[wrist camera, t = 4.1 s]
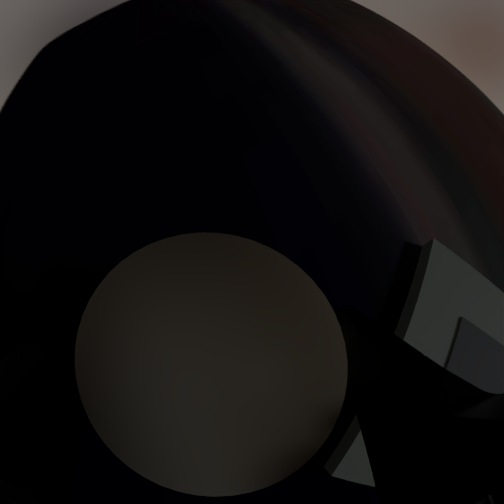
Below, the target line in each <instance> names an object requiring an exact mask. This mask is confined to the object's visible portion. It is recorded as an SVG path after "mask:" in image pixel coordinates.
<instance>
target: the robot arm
mask: <svg viewBox="0 0 504 504" xmlns="http://www.w3.org/2000/svg"><path fill="white" fill-rule="evenodd" d="M85 309H86V307H85V308H83V309H82V310H80V311H78V312H77V313H75V314H73V315H72V316H70V317H69V318H67V319H65V320H64V321H62V322H60V323H59V324H57V325H56V326H54V327H53V328H51V329H49V330H48V331H46V332H45V333H43V334H41V335H40V336H38V337H37V338H35V339H34V340H32V341H31V342H29V343H28V344H26V345H24V346H23V347H21V348H20V349H18V350H17V351H15V352H14V353H12V354H11V355H9V356H7V357H6V358H4V359H3V360H1V361H0V504H41V503H42V504H69V500H70V493H71V487H72V481H73V476H74V470H75V464H76V459H77V455H78V450H79V446H80V441H81V437H82V433H83V429H84V425H85V421H86V417H87V414H86V412H85V409H84V406H83V404H82V401H81V398H80V394H79V390H78V386H77V382H76V373H75V345H76V338H77V332H78V328H79V325H80V322H81V318H82V315H83V313H84V311H85ZM337 320H338V322H339V325H340V327H341V331H342V334H343V338H344V341H345V346H346V354H347V361H348V371H347V385H348V388H349V392H350V395H351V398H352V402H353V405H354V408H355V412H356V415H357V419H358V422H359V426H360V429H361V433H362V436H363V440H364V444H365V447H366V451H367V455H368V459H369V463H370V466H371V470H372V473H373V474H372V475H373V479H374V483H375V487H376V492H377V496H378V500H379V504H504V393H501V394H494V393H489V392H486V391H483V390H481V389H479V388H478V387H476V386H474V385H472V384H471V383H469V382H467V381H465V380H464V379H462V378H460V377H458V376H457V375H455V374H453V373H452V372H450V371H448V370H447V369H445V368H443V367H442V366H440V365H439V364H437V363H436V362H434V361H433V360H431V359H430V358H429V357H427V356H426V355H425V356H424V354H423V353H421V352H420V351H418V350H417V349H415V348H414V347H413V346H411V345H410V344H408V343H407V342H405V341H404V340H402V339H401V338H400V337H398V336H397V335H395V334H394V333H392V332H391V331H389V330H388V329H386V328H385V327H383V326H382V325H381V324H379V323H378V322H376V321H375V320H373V319H372V318H370V317H369V316H367V315H366V314H364V313H363V312H361V311H360V310H359V309H357V308H356V307H354V306H352V305H342V306H340V308H339V310H338V314H337Z"/></svg>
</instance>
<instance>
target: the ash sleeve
mask: <svg viewBox="0 0 504 504" xmlns="http://www.w3.org/2000/svg"><path fill="white" fill-rule="evenodd" d="M347 371H348V361H347V354H346V346H345V341H344V338H343V334H342V331H341V327H340V325H339V322H338V320H337V317H336V315H335V313H334V311H333V309H332V307H331V305H330V304H329V302H328V300H327V299H326V297H325V295H324V294H323V293H322V291H321V290H320V289H319V288H318V286H317V285H316V284H315V282H314V281H313V280H312V279H311V278H310V277H309V276H308V275H307V274H306V273H305V272H304V271H303V270H302V269H301V268H300V267H298V266H297V265H296V264H294V263H293V262H292V261H290V260H289V259H288V258H286V257H285V256H283V255H282V254H280V253H278V252H276V251H275V250H273V249H271V248H269V247H267V246H265V245H262V244H260V243H258V242H255V241H253V240H249V239H246V238H242V237H238V236H235V235H228V234H221V233H191V234H182V235H178V236H173V237H169V238H165V239H163V240H160V241H157V242H154V243H152V244H149V245H147V246H145V247H144V248H142V249H140V250H138V251H136V252H134V253H133V254H131V255H130V256H129V257H127V258H126V259H124V260H123V261H122V262H120V263H119V264H118V265H117V266H116V267H115V268H114V269H113V270H112V271H111V272H110V273H109V274H108V275H107V276H106V277H105V278H104V280H103V281H102V282H101V283H100V284H99V286H98V287H97V289H96V290H95V292H94V293H93V295H92V297H91V298H90V300H89V302H88V304H87V306H86V309H85V311H84V313H83V315H82V318H81V322H80V325H79V328H78V332H77V338H76V345H75V373H76V382H77V386H78V390H79V394H80V398H81V401H82V404H83V406H84V409H85V412H86V414H87V416H88V418H89V420H90V422H91V423H92V425H93V427H94V429H95V430H96V432H97V433H98V435H99V436H100V438H101V439H102V440H103V442H104V443H105V444H106V445H107V446H108V448H109V449H110V450H111V451H112V452H113V453H114V454H115V455H116V456H117V457H118V458H119V459H120V460H121V461H123V462H124V463H125V464H126V465H127V466H128V467H130V468H131V469H133V470H134V471H136V472H137V473H139V474H140V475H142V476H143V477H145V478H147V479H149V480H151V481H153V482H155V483H157V484H159V485H161V486H164V487H167V488H170V489H173V490H175V491H179V492H183V493H188V494H193V495H201V496H233V495H239V494H244V493H249V492H253V491H256V490H259V489H262V488H265V487H268V486H270V485H272V484H274V483H276V482H278V481H281V480H283V479H284V478H286V477H287V476H289V475H290V474H292V473H293V472H295V471H296V470H298V469H299V468H300V467H301V466H303V465H304V464H305V463H306V462H307V461H308V460H309V459H311V458H312V456H313V455H314V454H315V453H316V452H317V451H318V450H319V448H320V447H321V446H322V445H323V444H324V442H325V440H326V439H327V437H328V436H329V434H330V433H331V431H332V429H333V427H334V425H335V423H336V421H337V419H338V417H339V414H340V411H341V408H342V405H343V401H344V398H345V392H346V386H347Z"/></svg>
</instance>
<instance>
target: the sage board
mask: <svg viewBox="0 0 504 504" xmlns="http://www.w3.org/2000/svg"><path fill="white" fill-rule="evenodd" d="M394 334H395V335H397V336H398V337H400V338H401V339H402V340H404V341H405V342H407V343H408V344H410V345H411V346H413V347H414V348H415V349H417V350H418V351H420V352H421V353H423V354H424V356H425V355H426V356H427V357H429V358H430V359H431V360H433V361H434V362H436V363H437V364H439V365H440V366H442V367H443V368H445V369H447V370H448V371H450V372H452V373H453V374H455V375H457V376H458V377H460V378H462V379H464V380H465V381H467V382H469V383H471V384H472V385H474V386H476V387H478V388H479V389H481V390H483V391H486V392H489V393H494V394H501V393H504V293H503V292H502V291H501V290H499V289H498V288H497V287H496V286H495V285H494V284H492V283H491V282H490V281H489V280H488V279H486V278H485V277H484V276H483V275H481V274H480V273H479V272H478V271H477V270H475V269H474V268H473V267H472V266H470V265H469V264H468V263H466V262H465V261H464V260H462V259H461V258H460V257H459V256H457V255H456V254H455V253H453V252H452V251H450V250H449V249H448V248H446V247H445V246H444V245H442V244H441V243H439V242H438V241H437V240H435V239H432V240H431V241H429V242H428V243H426V244H425V245H423V246H422V249H421V253H420V256H419V260H418V264H417V267H416V271H415V274H414V278H413V281H412V284H411V287H410V290H409V294H408V297H407V300H406V303H405V305H404V308H403V311H402V314H401V317H400V319H399V322H398V325H397V327H396V330H395V333H394ZM324 467H325V469H326V470H327V471H328V472H329V474H330V475H331V476H334V477H337V478H341V479H344V480H348V481H352V482H356V483H360V484H365V485H369V486H374V487H375V483H374V479H373V475H372V474H373V473H372V470H371V466H370V463H369V459H368V455H367V451H366V447H365V444H364V440H363V436H362V433H361V429H360V426H359V422H358V419H357V415H355V417H354V419H353V421H352V423H351V424H350V426H349V428H348V429H347V431H346V433H345V434H344V436H343V438H342V439H341V441H340V443H339V444H338V446H337V447H336V449H335V451H334V452H333V454H332V455H331V457H330V458H329V460H328V461H327V463H326V464H325V466H324Z"/></svg>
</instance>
